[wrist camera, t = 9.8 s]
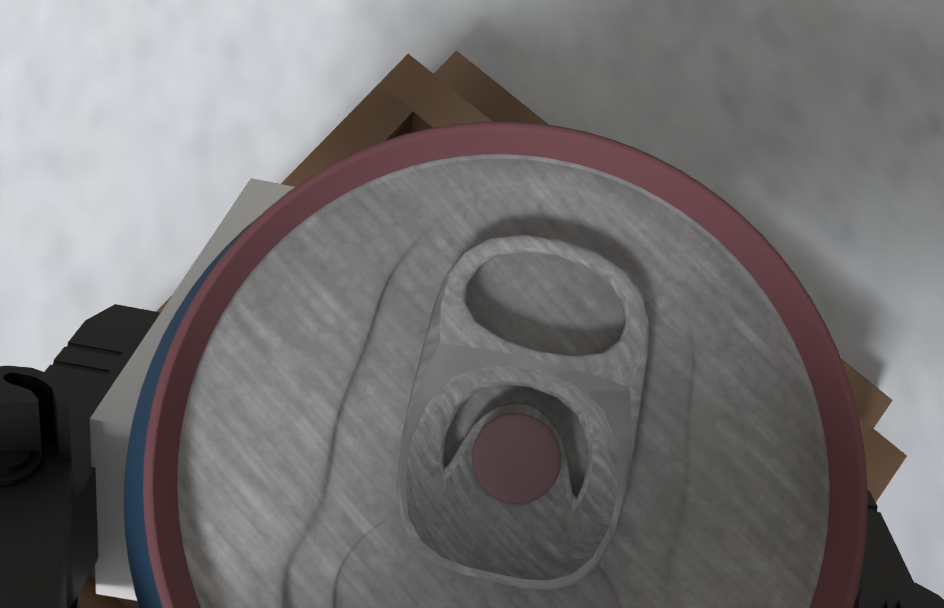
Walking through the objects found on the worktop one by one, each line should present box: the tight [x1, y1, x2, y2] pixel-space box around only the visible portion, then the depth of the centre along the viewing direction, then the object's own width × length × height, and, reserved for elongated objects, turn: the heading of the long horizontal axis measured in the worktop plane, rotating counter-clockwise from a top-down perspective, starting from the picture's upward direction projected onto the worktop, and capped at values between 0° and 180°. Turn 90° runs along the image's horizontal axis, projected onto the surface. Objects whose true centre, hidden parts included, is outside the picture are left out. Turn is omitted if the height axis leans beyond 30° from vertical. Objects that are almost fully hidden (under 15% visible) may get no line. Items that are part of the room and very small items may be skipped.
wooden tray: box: [79, 51, 907, 608], centre depth 20 cm, size 14×18×4 cm
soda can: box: [124, 122, 868, 608], centre depth 13 cm, size 7×7×12 cm
